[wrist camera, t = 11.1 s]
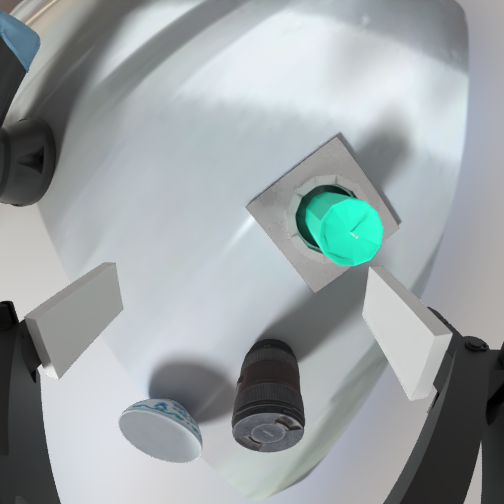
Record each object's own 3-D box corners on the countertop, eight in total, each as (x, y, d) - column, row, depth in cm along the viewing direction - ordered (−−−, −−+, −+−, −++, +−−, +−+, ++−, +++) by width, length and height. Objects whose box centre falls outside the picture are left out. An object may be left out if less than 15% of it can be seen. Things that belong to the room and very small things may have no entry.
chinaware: (157, 435, 48) (146, 461, 40) (120, 383, 44) (102, 410, 37) (222, 432, 45) (216, 463, 38) (188, 376, 42) (175, 408, 35)
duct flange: (245, 206, 34) (243, 209, 32) (335, 137, 31) (340, 133, 28) (313, 291, 37) (317, 300, 34) (397, 227, 33) (406, 231, 31)
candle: (300, 195, 33) (315, 205, 21) (349, 188, 32) (386, 195, 20) (308, 244, 34) (325, 279, 23) (355, 237, 33) (392, 266, 22)
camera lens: (272, 385, 41) (269, 461, 27) (232, 358, 40) (214, 434, 26) (309, 355, 39) (321, 432, 25) (268, 324, 38) (264, 400, 24)
